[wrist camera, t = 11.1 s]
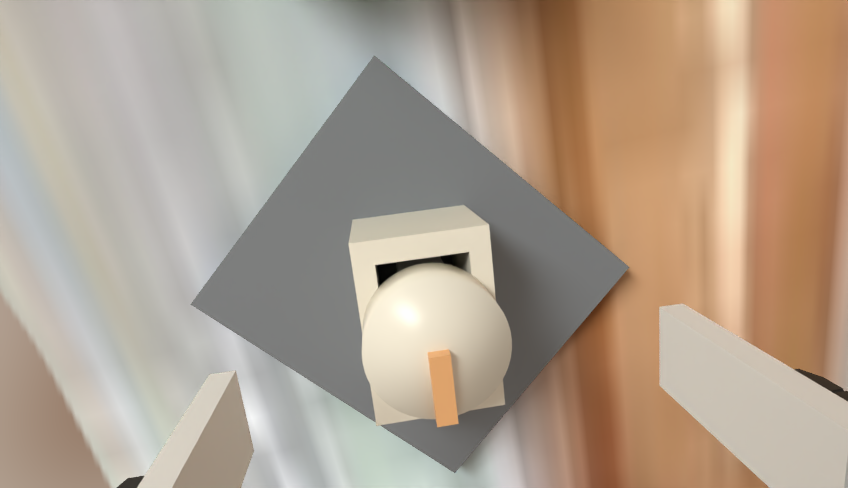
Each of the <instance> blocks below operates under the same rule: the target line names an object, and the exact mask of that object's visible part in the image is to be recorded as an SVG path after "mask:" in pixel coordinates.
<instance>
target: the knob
mask: <svg viewBox="0 0 848 488" xmlns="http://www.w3.org/2000/svg"><path fill="white" fill-rule="evenodd" d="M348 244H349V251H350V257H351V264H352V270H353V277H354V283H355V290H356V296H357V303H358V309H359V315H360V322H361V328H362V363H363V367H364V371H365V374H366V377H367V379H368V381H369V383H370V387H371V393H372V400H373V406H374V413H375V419H376V426H379V425H385V424H391V423H397V422H403V421H409V420H415V419H421V418H422V419H436V423H437V427H443V426H449V425H455V424H459V423H458V415H460V414H463V413H465V412H467V411H470V410H476V409H482V408H488V407H494V406H500V405H505V398H504V386H503V378H504V376H505V374H506V371H507V369H508V367H509V363H510V359H511V352H512V337H511V331H510V327H509V324H508V321H507V319H506V317H505V315H504V313H503V311H502V310H501V308H500V307H499V305H498V304H497V302H496V297H495V285H494V274H493V263H492V252H491V240H490V229H489V224H488V223H486V222H485V221H484V220H483V219H481V218H480V217H479V216H478V215H476V214H475V213H474V212H472V211H471V210H470V209H469V208H467V207H466V206H465V205H460V206H452V207H445V208H437V209H430V210H422V211H415V212H407V213H400V214H392V215H385V216H377V217H370V218H362V219H355V220H352V226H351V232H350V238H349V243H348ZM444 255H452V264H453V265H449V264H444V263H422V264H417V265H413V266H410V267H407V268H405V269H402V270H400V271H398V272H397V273H395V274H394V275H392V276H390V277H389V278H388V279H387V280H386V281H384V282H383V283H382V284H381V285H380V279H379V272H378V265H379V264H386V263H394V262H401V261H408V260H415V259H422V258H429V257H436V256H444Z"/></svg>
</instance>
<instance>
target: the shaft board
mask: <svg viewBox="0 0 848 488" xmlns="http://www.w3.org/2000/svg"><path fill="white" fill-rule="evenodd" d="M460 205H465V206H466V207H467V208H469V209H470V210H471V211H472V212H474V213H475V214H476V215H478V216H479V217H480V218H481V219H483V220H484V221H485V222H486V223H488V224H489V229H490V240H491V252H492V263H493V274H494V285H495V297H496V302H497V304H498V305H499V307H500V308H501V310H502V311H503V313H504V315H505V317H506V319H507V321H508V324H509V327H510V331H511V337H512V352H511V359H510V363H509V367H508V369H507V371H506V374H505V376H504V378H503V386H504V398H505V405H500V406H494V407H488V408H482V409H476V410H470V411H467V412H465V413H463V414H460V415H458V423H459V424H455V425H449V426H443V427H437V423H436V419H422V418H421V419H415V420H409V421H403V422H397V423H391V424H385V425H380V426H382V427H384V428H385V429H387V430H388V431H390V432H391V433H393V434H395V435H396V436H398V437H399V438H401V439H402V440H404V441H406V442H407V443H409V444H410V445H412V446H413V447H415V448H416V449H418V450H420V451H421V452H423V453H424V454H426V455H427V456H429V457H431V458H432V459H434V460H435V461H437V462H438V463H440V464H442V465H443V466H445V467H446V468H448V469H449V470H451V471H453V472H454V473H455V472H456V471H457V470H458V469H459V467H460V466H461V465H462V464H463V463H464V461H465V460H466V459H467V458H468V457H469V456H470V454H471V453H472V452H473V451H474V450H475V449H476V447H477V446H478V445H479V444H480V443H481V441H482V440H483V439H484V438H485V437H486V436H487V434H488V433H489V432H490V431H491V430H492V428H493V427H494V426H495V425H496V424H497V423H498V421H499V420H500V419H501V418H502V417H503V416H504V414H505V413H506V412H507V411H508V410H509V408H510V407H511V406H512V405H513V404H514V403H515V401H516V400H517V399H518V398H519V397H520V395H521V394H522V393H523V392H524V391H525V390H526V388H527V387H528V386H529V385H530V384H531V383H532V381H533V380H534V379H535V378H536V377H537V375H538V374H539V373H540V372H541V371H542V370H543V368H544V367H545V366H546V365H547V364H548V362H549V361H550V360H551V359H552V358H553V357H554V355H555V354H556V353H557V352H558V351H559V349H560V348H561V347H562V346H563V345H564V344H565V342H566V341H567V340H568V339H569V338H570V337H571V335H572V334H573V333H574V332H575V331H576V329H577V328H578V327H579V326H580V325H581V324H582V322H583V321H584V320H585V319H586V318H587V316H588V315H589V314H590V313H591V312H592V311H593V309H594V308H595V307H596V306H597V305H598V304H599V302H600V301H601V300H602V299H603V298H604V296H605V295H606V294H607V293H608V292H609V291H610V289H611V288H612V287H613V286H614V285H615V283H616V282H617V281H618V280H619V279H620V278H621V276H622V275H623V274H624V273H625V272H626V270H627V269H628V268H629V267H628V266H627V265H626V264H625V263H624V262H622V261H621V260H620V259H619V258H618V257H616V256H615V255H614V254H613V253H612V252H610V251H609V250H608V249H607V248H606V247H604V246H603V245H602V244H601V243H600V242H598V241H597V240H596V239H595V238H593V237H592V236H591V235H590V234H589V233H587V232H586V231H585V230H584V229H583V228H581V227H580V226H579V225H578V224H577V223H575V222H574V221H573V220H572V219H571V218H569V217H568V216H567V215H566V214H565V213H563V212H562V211H561V210H560V209H559V208H557V207H556V206H555V205H554V204H553V203H551V202H550V201H549V200H548V199H546V198H545V197H544V196H543V195H542V194H540V193H539V192H538V191H537V190H536V189H534V188H533V187H532V186H531V185H530V184H528V183H527V182H526V181H525V180H524V179H522V178H521V177H520V176H519V175H518V174H516V173H515V172H514V171H513V170H512V169H510V168H509V167H508V166H507V165H506V164H504V163H503V162H502V161H501V160H499V159H498V158H497V157H496V156H495V155H493V154H492V153H491V152H490V151H489V150H487V149H486V148H485V147H484V146H483V145H481V144H480V143H479V142H478V141H477V140H475V139H474V138H473V137H472V136H471V135H469V134H468V133H467V132H466V131H465V130H463V129H462V128H461V127H460V126H458V125H457V124H456V123H455V122H454V121H452V120H451V119H450V118H449V117H448V116H446V115H445V114H444V113H443V112H442V111H440V110H439V109H438V108H437V107H436V106H434V105H433V104H432V103H431V102H430V101H428V100H427V99H426V98H425V97H424V96H422V95H421V94H420V93H419V92H418V91H416V90H415V89H414V88H413V87H411V86H410V85H409V84H408V83H407V82H405V81H404V80H403V79H402V78H401V77H399V76H398V75H397V74H396V73H395V72H393V71H392V70H391V69H390V68H389V67H387V66H386V65H385V64H384V63H383V62H381V61H380V60H379V59H378V58H377V57H375V56H374V57H373V58H372V59H371V61H370V62H369V64H368V65H367V66H366V68H365V69H364V70H363V72H362V73H361V74H360V76H359V77H358V78H357V80H356V81H355V82H354V84H353V85H352V87H351V88H350V89H349V91H348V92H347V93H346V95H345V96H344V97H343V99H342V100H341V101H340V103H339V104H338V106H337V107H336V108H335V110H334V111H333V112H332V114H331V115H330V116H329V118H328V119H327V120H326V122H325V123H324V124H323V126H322V127H321V129H320V130H319V131H318V133H317V134H316V135H315V137H314V138H313V139H312V141H311V142H310V143H309V145H308V146H307V148H306V149H305V150H304V152H303V153H302V154H301V156H300V157H299V158H298V160H297V161H296V162H295V164H294V165H293V166H292V168H291V169H290V171H289V172H288V173H287V175H286V176H285V177H284V179H283V180H282V181H281V183H280V184H279V185H278V187H277V188H276V190H275V191H274V192H273V194H272V195H271V196H270V198H269V199H268V200H267V202H266V203H265V204H264V206H263V207H262V208H261V210H260V211H259V213H258V214H257V215H256V217H255V218H254V219H253V221H252V222H251V223H250V225H249V226H248V227H247V229H246V230H245V232H244V233H243V234H242V236H241V237H240V238H239V240H238V241H237V242H236V244H235V245H234V246H233V248H232V249H231V250H230V252H229V253H228V255H227V256H226V257H225V259H224V260H223V261H222V263H221V264H220V265H219V267H218V268H217V269H216V271H215V272H214V274H213V275H212V276H211V278H210V279H209V280H208V282H207V283H206V284H205V286H204V287H203V288H202V290H201V291H200V292H199V294H198V295H197V297H196V298H195V299H194V301H193V302H192V303H191V305H193V306H194V307H196V308H197V309H199V310H200V311H202V312H203V313H205V314H207V315H208V316H210V317H211V318H213V319H214V320H216V321H218V322H219V323H221V324H222V325H224V326H225V327H227V328H229V329H230V330H232V331H233V332H235V333H236V334H238V335H240V336H241V337H243V338H244V339H246V340H247V341H249V342H250V343H252V344H254V345H255V346H257V347H258V348H260V349H261V350H263V351H265V352H266V353H268V354H269V355H271V356H272V357H274V358H276V359H277V360H279V361H280V362H282V363H283V364H285V365H286V366H288V367H290V368H291V369H293V370H294V371H296V372H297V373H299V374H301V375H302V376H304V377H305V378H307V379H308V380H310V381H312V382H313V383H315V384H316V385H318V386H319V387H321V388H323V389H324V390H326V391H327V392H329V393H330V394H332V395H333V396H335V397H337V398H338V399H340V400H341V401H343V402H344V403H346V404H348V405H349V406H351V407H352V408H354V409H355V410H357V411H359V412H360V413H362V414H363V415H365V416H366V417H368V418H370V419H371V420H373V421H374V422H376V419H375V413H374V406H373V400H372V393H371V387H370V383H369V381H368V379H367V377H366V374H365V371H364V367H363V363H362V328H361V322H360V315H359V309H358V303H357V296H356V290H355V283H354V277H353V270H352V264H351V257H350V251H349V244H348V243H349V238H350V232H351V226H352V220H355V219H362V218H370V217H377V216H385V215H392V214H400V213H407V212H415V211H422V210H430V209H437V208H445V207H452V206H460ZM422 263H444V264H449V265H453V264H452V255H444V256H436V257H429V258H422V259H415V260H408V261H401V262H394V263H386V264H379V265H378V272H379V279H380V285H381V284H382V283H383V282H384V281H386V280H387V279H388V278H389V277H390V276H392V275H394V274H395V273H397V272H398V271H400V270H402V269H405V268H407V267H410V266H413V265H417V264H422Z"/></svg>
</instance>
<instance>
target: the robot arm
mask: <svg viewBox="0 0 848 488" xmlns="http://www.w3.org/2000/svg"><path fill="white" fill-rule="evenodd" d="M660 386H661V387H662V388H663V389H664V390H665V391H666V392H667V393H668V394H669V395H670V396H671V397H672V398H674V399H675V400H676V401H677V402H678V403H679V404H680V405H681V406H682V407H683V408H684V409H685V410H686V411H688V412H689V413H690V414H691V415H692V416H693V417H694V418H695V419H696V420H697V421H698V422H699V423H700V424H702V425H703V426H704V427H705V428H706V429H707V430H708V431H709V432H710V433H711V434H712V435H713V436H714V437H716V438H717V439H718V440H719V441H720V442H721V443H722V444H723V445H724V446H725V447H726V448H727V449H728V450H730V451H731V452H732V453H733V454H734V455H735V456H736V457H737V458H738V459H739V460H740V461H741V462H742V463H744V464H745V465H746V466H747V467H748V468H749V469H750V470H751V471H752V472H753V473H754V474H755V475H756V476H758V477H759V478H760V479H761V480H762V481H763V482H764V483H765V484H766V485H767V486H768V487H769V488H848V391H844V390H843V388H841V387H839V386H837V385H836V384H834V383H832V382H830V381H829V380H827V379H825V378H823V377H821V376H818V375H815V374H812V373H809V372H806V371H803V370H800V369H795V370H794V369H792V368H790V367H789V366H787V365H785V364H784V363H782V362H780V361H779V360H777V359H775V358H774V357H772V356H770V355H769V354H767V353H765V352H763V351H762V350H760V349H758V348H757V347H755V346H753V345H752V344H750V343H748V342H747V341H745V340H743V339H742V338H740V337H738V336H737V335H735V334H733V333H732V332H730V331H728V330H726V329H725V328H723V327H721V326H720V325H718V324H716V323H715V322H713V321H711V320H710V319H708V318H706V317H705V316H703V315H701V314H700V313H698V312H696V311H694V310H693V309H691V308H689V307H688V306H686V305H684V304H677V305H670V306H663V307H660ZM253 452H254V449H253V444H252V440H251V436H250V431H249V427H248V422H247V418H246V414H245V409H244V405H243V401H242V396H241V392H240V387H239V383H238V379H237V374H236V371H229V372H222V373H216V374H209V376H208V377H207V379H206V381H205V382H204V384H203V385H202V387H201V388H200V390H199V392H198V393H197V395H196V396H195V398H194V399H193V401H192V402H191V404H190V406H189V407H188V409H187V410H186V412H185V413H184V415H183V417H182V418H181V420H180V421H179V423H178V424H177V426H176V428H175V429H174V431H173V432H172V434H171V435H170V437H169V438H168V440H167V442H166V443H165V445H164V446H163V448H162V449H161V451H160V453H159V454H158V456H157V457H156V459H155V460H154V462H153V464H152V465H151V467H150V468H149V470H148V471H147V473H146V474H145V476H140V477H133V478H128V479H126V480H125V481H124V482H123V483H122V484H121V485H119V486H118V487H117V488H241V485H242V483H243V480H244V477H245V474H246V472H247V469H248V466H249V463H250V460H251V458H252V455H253Z"/></svg>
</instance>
